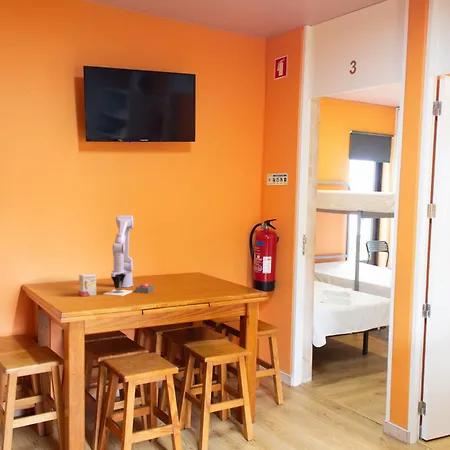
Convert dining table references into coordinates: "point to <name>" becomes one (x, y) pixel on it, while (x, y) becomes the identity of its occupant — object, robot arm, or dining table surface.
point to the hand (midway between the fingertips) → (118, 287)
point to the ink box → (87, 285)
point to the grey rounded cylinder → (119, 286)
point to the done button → (144, 285)
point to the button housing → (144, 289)
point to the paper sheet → (118, 292)
